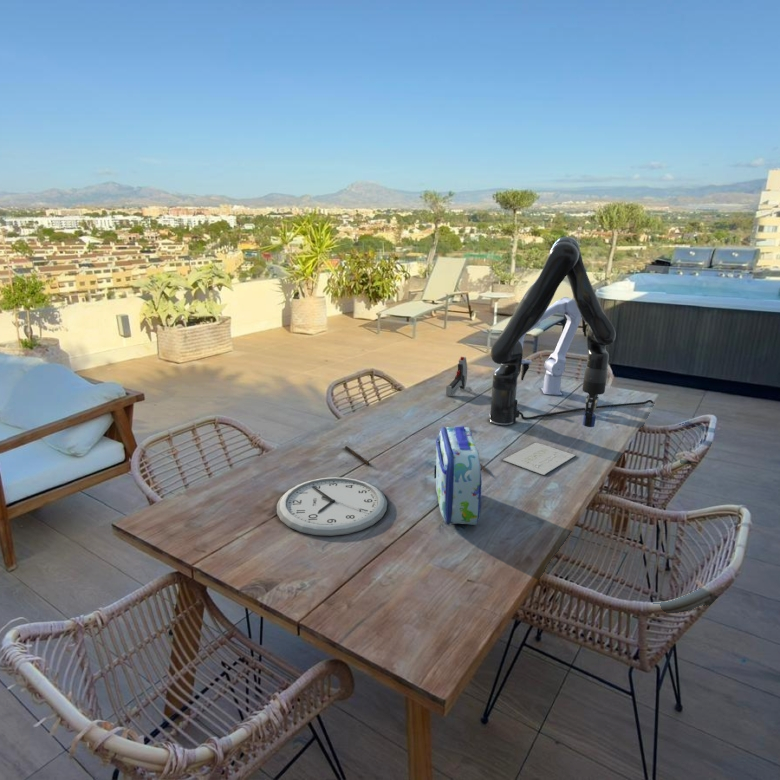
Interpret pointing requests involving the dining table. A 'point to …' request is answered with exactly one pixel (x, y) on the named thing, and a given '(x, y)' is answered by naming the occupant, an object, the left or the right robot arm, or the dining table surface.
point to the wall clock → (331, 506)
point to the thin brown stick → (357, 455)
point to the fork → (483, 468)
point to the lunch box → (458, 476)
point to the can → (592, 420)
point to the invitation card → (539, 458)
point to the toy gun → (458, 378)
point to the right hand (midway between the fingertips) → (513, 379)
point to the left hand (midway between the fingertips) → (588, 423)
